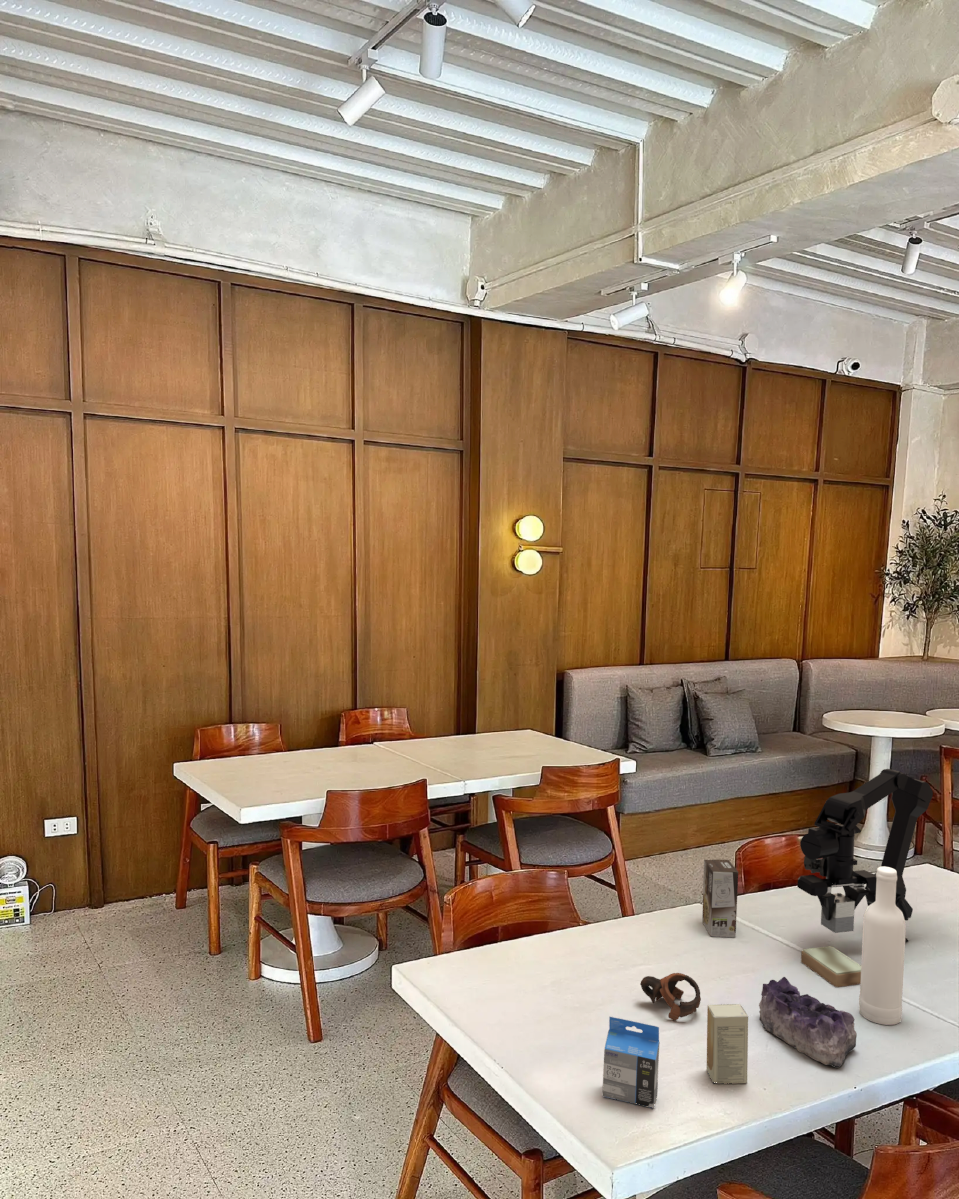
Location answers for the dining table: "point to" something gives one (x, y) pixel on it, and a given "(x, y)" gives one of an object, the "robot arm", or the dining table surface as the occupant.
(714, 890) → the coffee box
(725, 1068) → the skincare box
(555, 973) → the dining table surface
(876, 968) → the bottle
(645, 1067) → the label tape box
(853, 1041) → the geode
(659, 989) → the brown curved loop piece
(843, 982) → the riser
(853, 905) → the block
